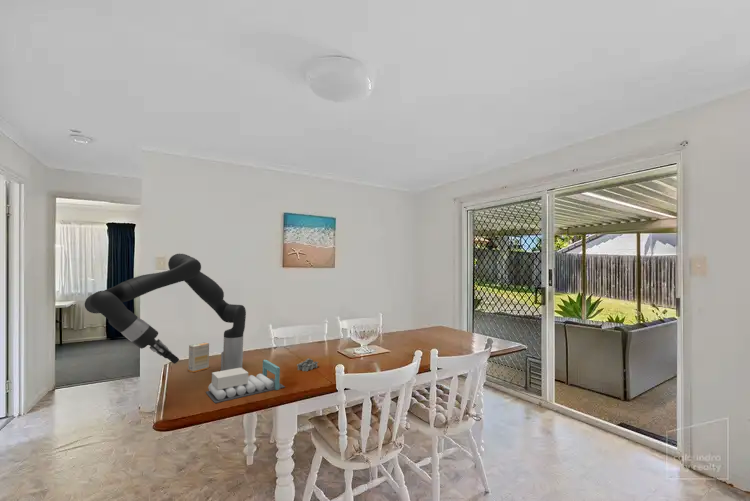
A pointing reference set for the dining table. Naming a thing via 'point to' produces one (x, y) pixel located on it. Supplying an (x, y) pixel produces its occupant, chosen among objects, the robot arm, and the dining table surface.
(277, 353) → the dining table surface
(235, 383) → the slab
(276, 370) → the bar
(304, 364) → the egg carton
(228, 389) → the roller bed
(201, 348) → the supplement box
